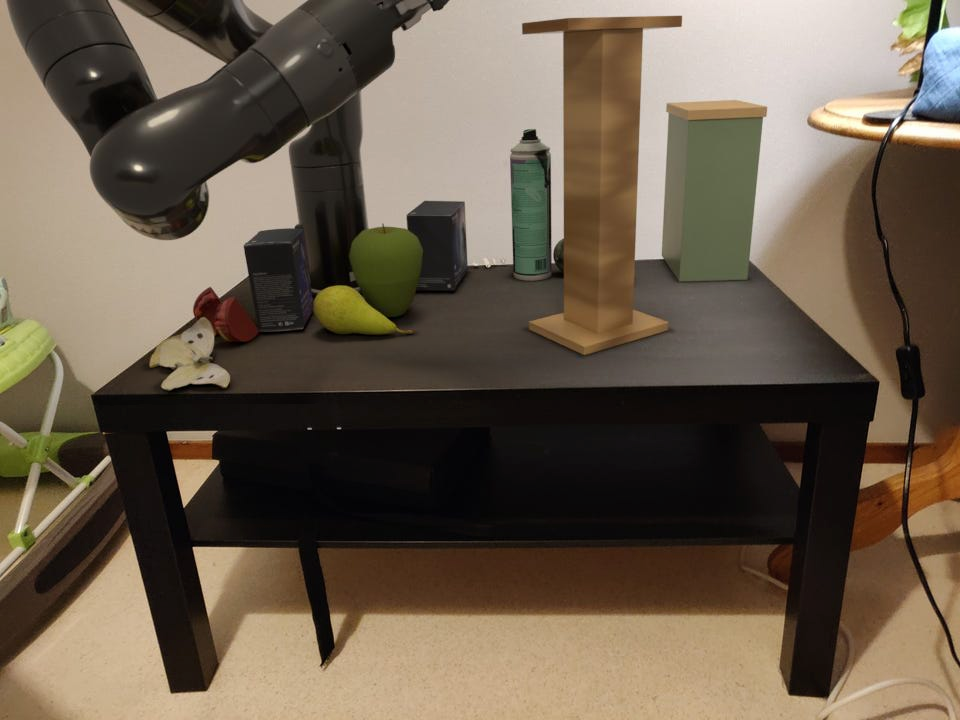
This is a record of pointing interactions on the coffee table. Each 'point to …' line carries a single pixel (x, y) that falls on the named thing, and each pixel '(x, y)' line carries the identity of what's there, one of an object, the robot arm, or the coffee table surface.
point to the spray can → (531, 208)
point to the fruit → (350, 313)
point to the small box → (440, 243)
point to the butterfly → (192, 358)
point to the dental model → (225, 316)
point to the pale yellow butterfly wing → (155, 356)
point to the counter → (711, 188)
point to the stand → (600, 180)
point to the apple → (387, 268)
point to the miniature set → (488, 262)
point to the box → (279, 279)
